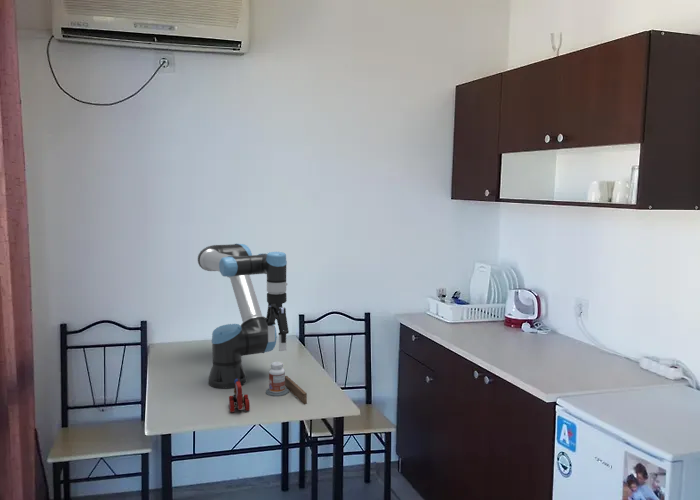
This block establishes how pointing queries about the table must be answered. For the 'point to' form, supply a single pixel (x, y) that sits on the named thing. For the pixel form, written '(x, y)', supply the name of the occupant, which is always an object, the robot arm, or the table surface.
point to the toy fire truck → (238, 398)
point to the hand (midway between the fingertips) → (276, 346)
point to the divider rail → (296, 390)
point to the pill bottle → (276, 378)
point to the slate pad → (277, 393)
